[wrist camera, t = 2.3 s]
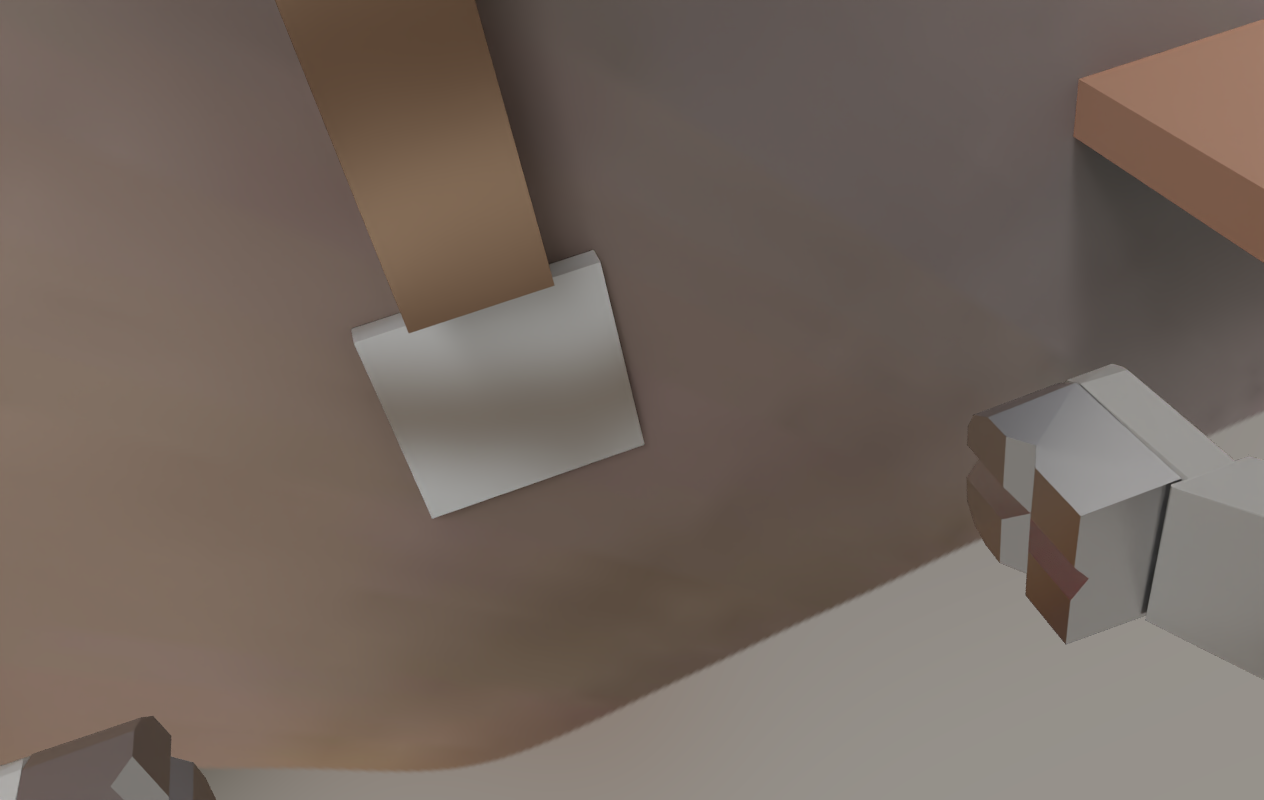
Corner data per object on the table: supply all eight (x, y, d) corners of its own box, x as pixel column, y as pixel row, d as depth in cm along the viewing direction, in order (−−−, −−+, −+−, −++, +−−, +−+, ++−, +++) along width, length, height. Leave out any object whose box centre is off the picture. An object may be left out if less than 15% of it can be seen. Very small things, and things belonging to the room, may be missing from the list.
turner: (59, -329, 17) (22, -307, 14) (429, -421, 17) (473, -421, 14) (429, 504, 29) (453, 612, 26) (638, 431, 30) (685, 529, 26)
